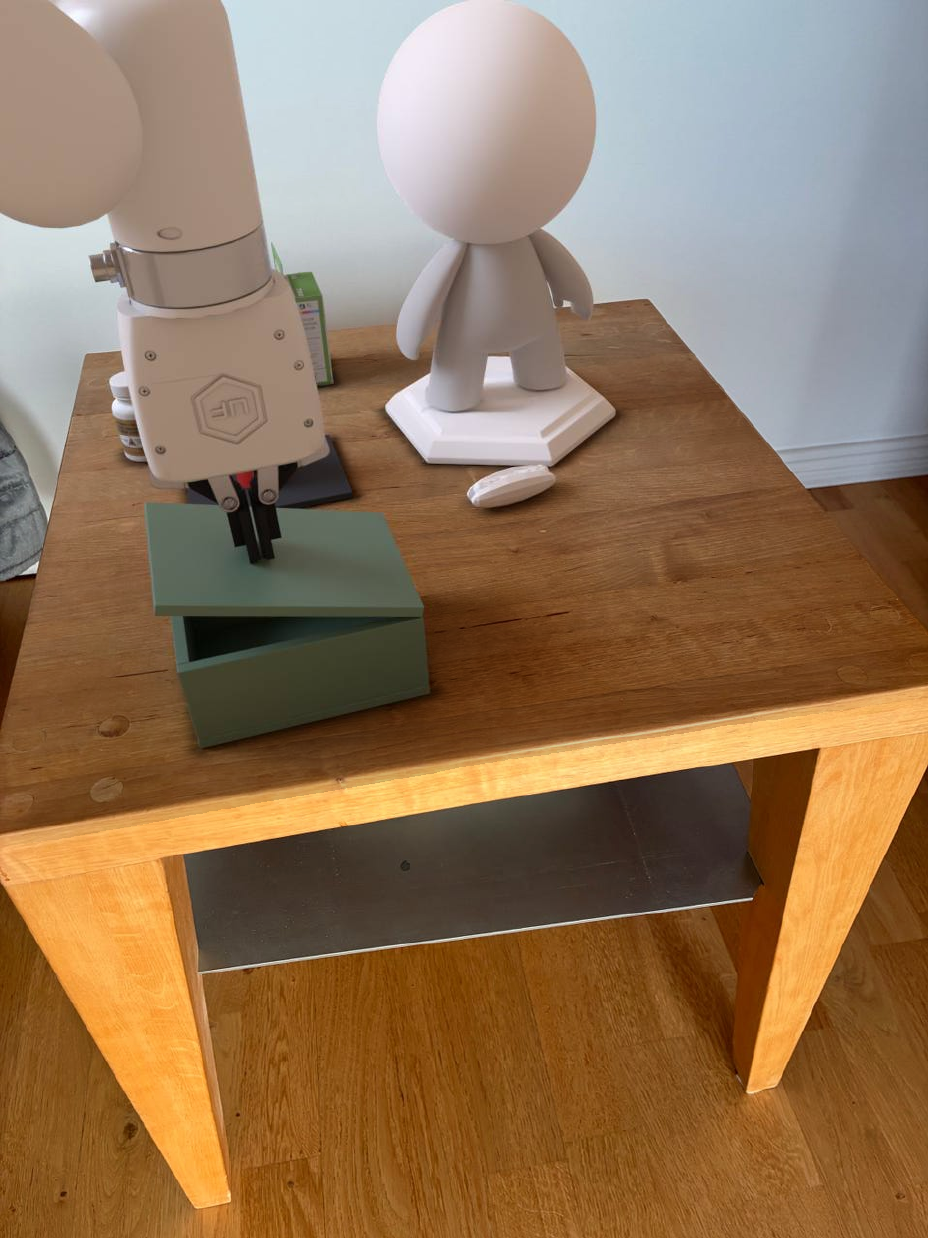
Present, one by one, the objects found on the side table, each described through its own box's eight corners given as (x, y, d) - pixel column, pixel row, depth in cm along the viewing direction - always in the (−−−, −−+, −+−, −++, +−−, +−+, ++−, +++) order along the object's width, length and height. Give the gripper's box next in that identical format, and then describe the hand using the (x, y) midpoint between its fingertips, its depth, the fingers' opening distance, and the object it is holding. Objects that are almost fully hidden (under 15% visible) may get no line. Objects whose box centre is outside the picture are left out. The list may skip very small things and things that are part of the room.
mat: (193, 528, 83) (192, 522, 83) (183, 466, 91) (182, 460, 91) (353, 497, 86) (352, 491, 86) (329, 439, 94) (329, 434, 94)
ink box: (335, 384, 103) (318, 258, 95) (298, 390, 103) (278, 263, 94) (325, 358, 109) (308, 235, 100) (290, 363, 108) (269, 240, 99)
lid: (154, 616, 56) (154, 605, 56) (144, 511, 65) (144, 501, 64) (422, 617, 62) (424, 607, 62) (380, 521, 71) (382, 512, 70)
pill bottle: (118, 462, 92) (95, 387, 88) (137, 439, 96) (116, 366, 91) (161, 464, 92) (140, 389, 87) (179, 441, 95) (160, 368, 90)
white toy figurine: (536, 350, 108) (540, -26, 86) (646, 441, 92) (685, 7, 69) (367, 388, 102) (323, -3, 80) (451, 493, 86) (425, 38, 64)
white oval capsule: (559, 495, 85) (560, 467, 83) (477, 519, 83) (476, 491, 81) (542, 478, 87) (542, 451, 86) (461, 502, 85) (460, 474, 83)
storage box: (200, 749, 63) (177, 673, 59) (186, 639, 72) (164, 565, 68) (430, 693, 67) (424, 617, 62) (390, 595, 75) (382, 522, 71)
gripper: (45, 312, 46) (143, 609, 58) (352, 266, 49) (386, 558, 61) (49, 260, 52) (138, 541, 64) (324, 222, 55) (360, 497, 67)
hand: (259, 548), depth 62 cm, fingers closed
